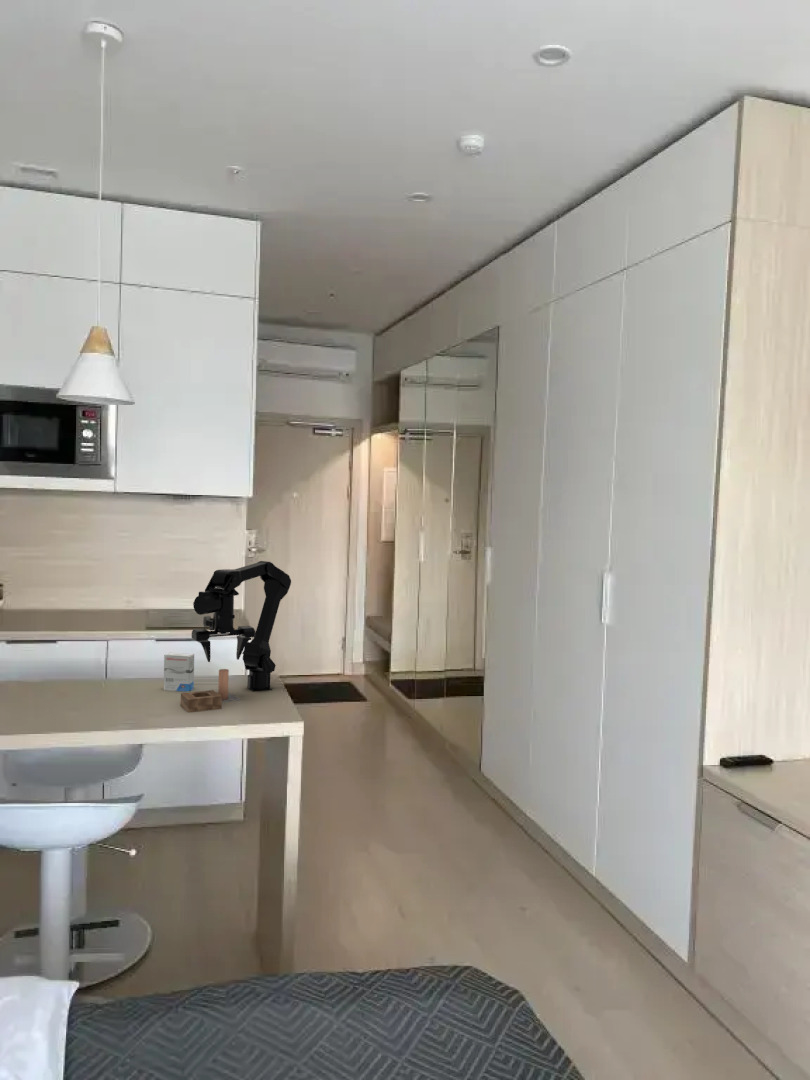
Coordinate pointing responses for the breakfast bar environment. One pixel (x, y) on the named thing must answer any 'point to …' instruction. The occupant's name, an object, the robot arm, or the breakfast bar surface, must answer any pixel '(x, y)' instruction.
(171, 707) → the breakfast bar surface
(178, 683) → the ink box
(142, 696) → the breakfast bar surface
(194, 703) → the hole block
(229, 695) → the mat
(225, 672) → the peg
